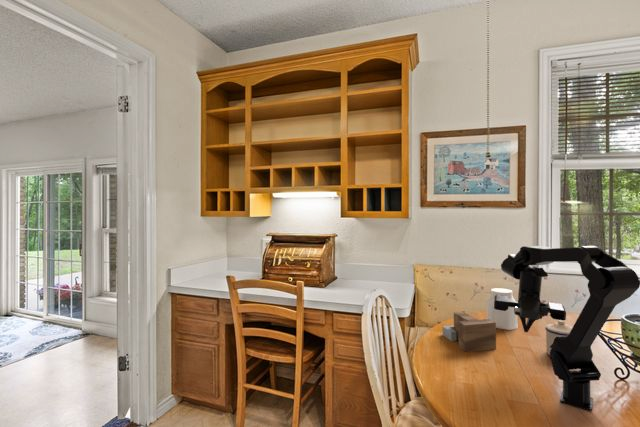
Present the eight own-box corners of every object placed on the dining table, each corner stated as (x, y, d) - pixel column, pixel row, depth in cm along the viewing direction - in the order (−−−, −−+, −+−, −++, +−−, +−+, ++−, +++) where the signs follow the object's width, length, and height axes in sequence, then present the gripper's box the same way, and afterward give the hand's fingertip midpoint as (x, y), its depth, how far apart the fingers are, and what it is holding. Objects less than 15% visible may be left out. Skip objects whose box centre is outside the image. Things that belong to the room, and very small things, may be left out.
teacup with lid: (574, 363, 109) (573, 327, 109) (541, 354, 116) (541, 320, 116) (583, 352, 117) (583, 319, 117) (552, 345, 124) (552, 313, 123)
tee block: (496, 349, 121) (495, 322, 121) (465, 352, 119) (464, 325, 119) (472, 334, 135) (472, 311, 135) (444, 337, 133) (444, 313, 133)
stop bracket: (477, 338, 131) (477, 329, 131) (451, 341, 129) (451, 332, 129) (468, 332, 137) (467, 324, 137) (442, 334, 136) (442, 326, 136)
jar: (485, 326, 144) (484, 291, 144) (488, 320, 152) (488, 286, 152) (516, 331, 138) (516, 294, 138) (518, 324, 146) (517, 289, 146)
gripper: (495, 291, 102) (492, 338, 105) (572, 302, 93) (566, 353, 96) (495, 277, 111) (492, 321, 114) (565, 286, 103) (560, 332, 106)
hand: (525, 331), depth 108 cm, fingers closed
